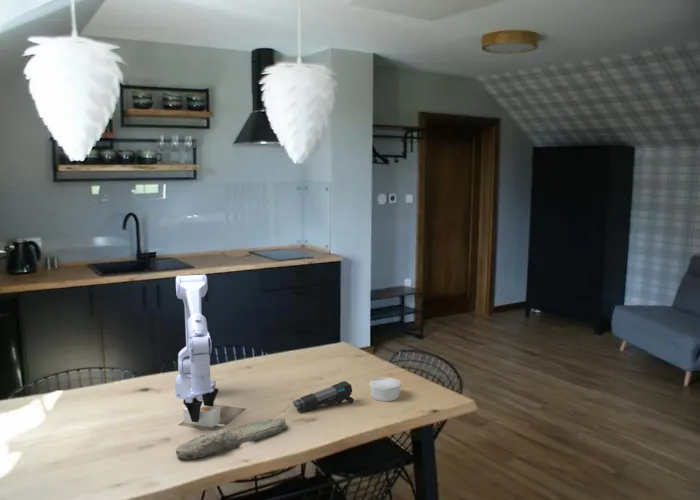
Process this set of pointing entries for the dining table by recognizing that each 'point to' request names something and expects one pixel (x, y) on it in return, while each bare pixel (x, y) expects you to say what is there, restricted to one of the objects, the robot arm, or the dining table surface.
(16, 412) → the dining table surface
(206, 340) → the robot arm
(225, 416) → the subfloor panel
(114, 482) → the dining table surface
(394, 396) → the ramekin
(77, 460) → the dining table surface
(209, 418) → the block
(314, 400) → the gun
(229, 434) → the long grey stone
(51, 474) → the dining table surface
